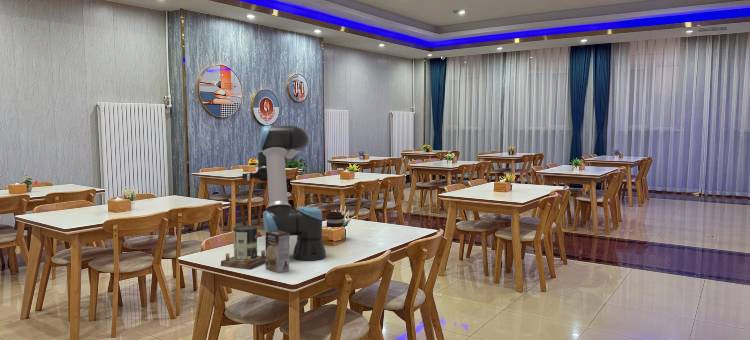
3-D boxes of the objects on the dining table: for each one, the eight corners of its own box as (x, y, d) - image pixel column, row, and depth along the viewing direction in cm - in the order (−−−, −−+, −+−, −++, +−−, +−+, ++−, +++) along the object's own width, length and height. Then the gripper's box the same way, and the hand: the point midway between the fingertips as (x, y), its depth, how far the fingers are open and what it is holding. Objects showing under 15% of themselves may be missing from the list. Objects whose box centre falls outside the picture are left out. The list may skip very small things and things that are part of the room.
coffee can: (256, 255, 240) (256, 224, 239) (258, 261, 230) (258, 229, 229) (233, 256, 237) (232, 225, 236) (234, 262, 227) (233, 230, 226)
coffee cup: (326, 242, 278) (326, 214, 277) (324, 238, 288) (324, 211, 287) (345, 241, 280) (345, 213, 279) (342, 237, 290) (342, 210, 289)
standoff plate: (269, 261, 238) (269, 250, 238) (250, 269, 224) (250, 257, 224) (241, 257, 243) (241, 247, 243) (220, 265, 229) (220, 254, 229)
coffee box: (264, 269, 225) (264, 231, 224) (276, 266, 230) (276, 229, 229) (278, 273, 219) (278, 235, 218) (290, 270, 224) (290, 232, 223)
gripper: (287, 180, 285) (287, 185, 264) (240, 180, 281) (236, 185, 260) (287, 166, 284) (287, 170, 263) (240, 166, 280) (236, 170, 259)
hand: (262, 177), depth 262 cm, fingers open, 13 cm apart
